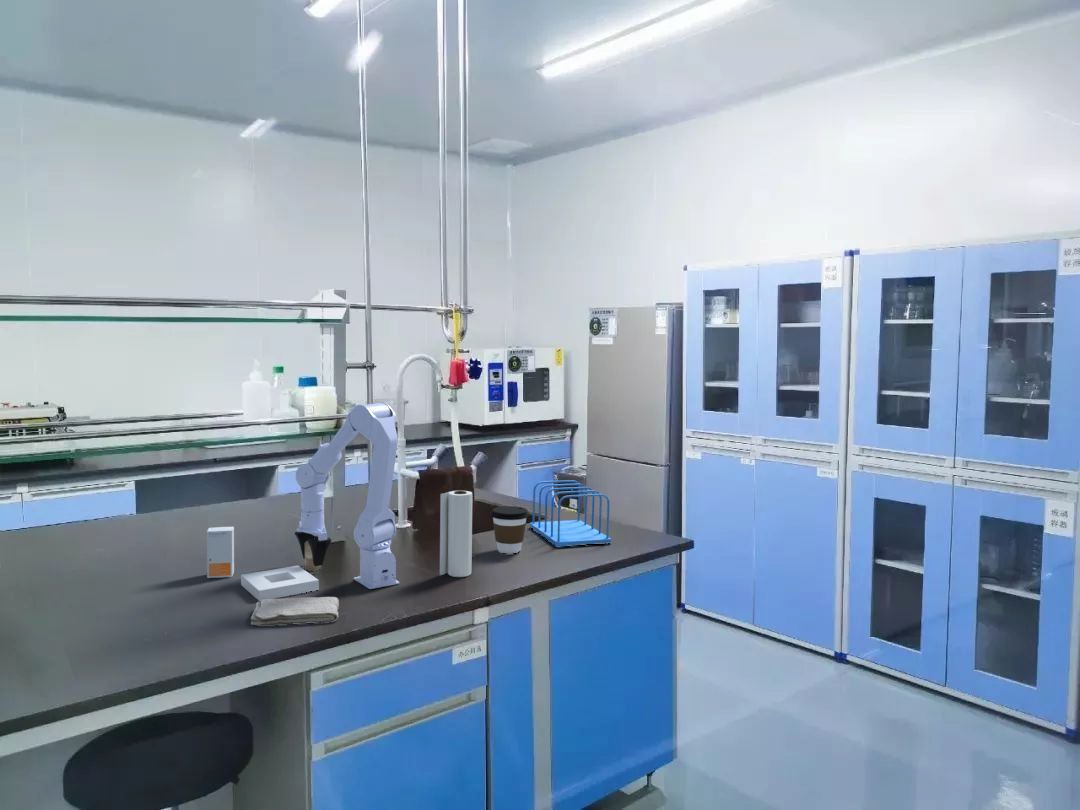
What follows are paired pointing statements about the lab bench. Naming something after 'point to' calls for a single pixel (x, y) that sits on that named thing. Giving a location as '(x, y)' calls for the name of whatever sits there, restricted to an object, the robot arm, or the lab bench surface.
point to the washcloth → (295, 611)
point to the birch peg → (309, 559)
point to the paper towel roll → (456, 533)
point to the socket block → (279, 582)
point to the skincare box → (220, 552)
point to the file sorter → (574, 529)
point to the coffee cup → (509, 527)
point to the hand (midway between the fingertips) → (312, 561)
